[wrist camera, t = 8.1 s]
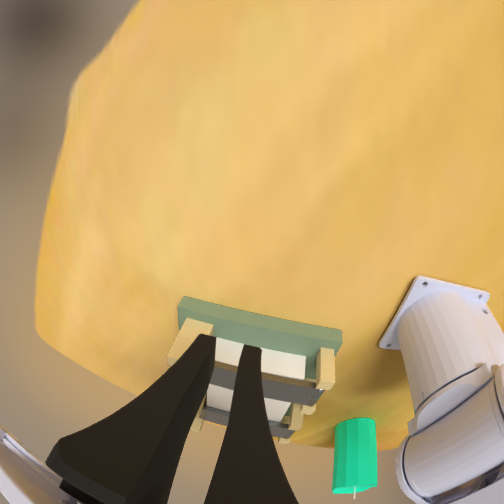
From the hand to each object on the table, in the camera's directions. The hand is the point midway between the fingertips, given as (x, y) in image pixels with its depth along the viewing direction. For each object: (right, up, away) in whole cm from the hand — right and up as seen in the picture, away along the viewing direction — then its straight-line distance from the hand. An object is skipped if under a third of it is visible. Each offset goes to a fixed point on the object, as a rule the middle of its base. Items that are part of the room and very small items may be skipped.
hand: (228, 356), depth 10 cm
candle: (+16, -21, +21) cm, 33 cm away
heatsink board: (+1, -8, +17) cm, 19 cm away
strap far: (0, -14, +15) cm, 21 cm away
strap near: (+1, -7, +11) cm, 13 cm away
